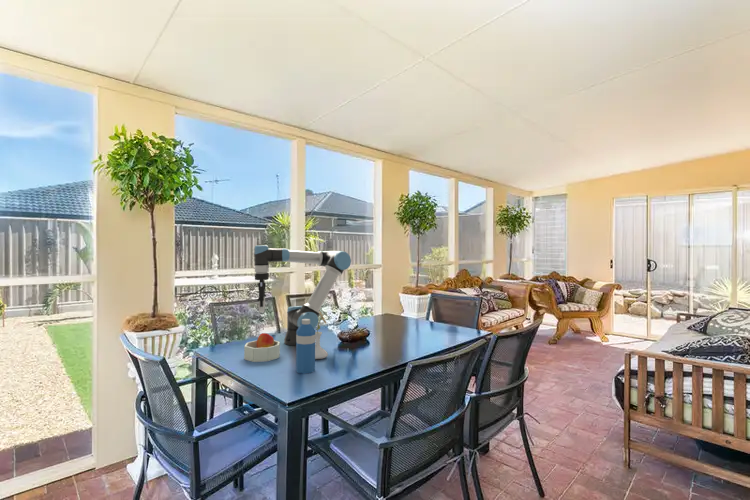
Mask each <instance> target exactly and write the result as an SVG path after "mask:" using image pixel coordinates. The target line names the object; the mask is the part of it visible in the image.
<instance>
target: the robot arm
mask: <svg viewBox="0 0 750 500" xmlns="http://www.w3.org/2000/svg"><path fill="white" fill-rule="evenodd" d="M274 262H277V263H278V262H280V263H281V262H285V263H298V264H309V265H310V264H311V265H317V266H319V267H320V266H321V267H325V271H324V272H323V274H322V276H321V277H320V280H319V281H318V283H317V284H316V287H315V288H314V290H313V292H312V293H311V296H310V297H309V298H308V300H307V302H306V303H303V304H302V305H292V306H289V307H287V312H286V314H287V315H286V316H287V317H286V319H287V320H286V321H287V322H286V323H287V324H286V326H287V327H286V334H285V336H284V340H283V341H284V342H283V343H284V345H287V346H296V331H297V329H298V328H299V327H300V325H301V324H302V319H310V324H311V326H312V327H313V328H314V330H316V329H317V327H318V323H319V316H320V313H319V311H320V309H321V308H322V306H323V304H324V302H325V300H326V298H327V297H328V296H329V293H330V292H331V289H332V288H333V285H334V284H335V282H336V280H337V279H338V277H339V276H342V275H343V273H344V271H346V270H348V269H349V268H350V266H351V264H352V260H351V256H350V253H348V252H347V251H343V250H324V251H323V250H319V251H317V252H315V251H307V250H306V251H304V250H294V249H288V248H283V247H282V248H272V247H269V246H268V245H267V244H266V245H255V246H254V266H253V269H254V280H255V281H259V282H258V283H257V286H258V287H257V289H258V299H257V301H258V313H260V314H261V313H263V314H264V313H265V309H266V297H267V295H266V284H267V283H266V282H265V281H267V280H269V278H270V277H269V276H270V275H269V271H270V268H269V267H270V266H269V263H274Z"/></svg>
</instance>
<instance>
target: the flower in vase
mask: <svg viewBox="0 0 750 500" xmlns="http://www.w3.org/2000/svg"><path fill="white" fill-rule="evenodd" d="M319 313H320V315H319V316H320V319H319V320H318V325H317V327H316V328H315V360H322V359H325V358H327V357H328V355H329V354H328V352H327V351H326V350H325V348H323V347H321V341H320V340H321V336H322V334H323V332H322V331H319V330H320V329H321V326H320V325H319V324H320V322H321V320H322V321H323V322H324V324H325V325H326V324H327V320H326V318H325V317H324V316H323V313H322V311H320V310H319Z"/></svg>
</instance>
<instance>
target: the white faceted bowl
mask: <svg viewBox="0 0 750 500" xmlns="http://www.w3.org/2000/svg"><path fill="white" fill-rule="evenodd" d="M280 348H281V343H280V341H278V340H275V339H274V346H271V347H268V348H257V339H256V340H252V341H248V342H246V343H245V345H244V348H243V349H244V350H243V351H244V353H243V356H244V357H243V359H244V360H245V361H249V362H253V363H259V362H262V363H263V362H269V361H273V360H276V359H279V358H280V356H281V353H280V351H281V349H280Z"/></svg>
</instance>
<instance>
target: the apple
mask: <svg viewBox="0 0 750 500" xmlns="http://www.w3.org/2000/svg"><path fill="white" fill-rule="evenodd" d="M256 340H257V348H268V347H271V346H274V340H275V339H274V336H272V335H270V334H268V333H266V332H262V333H261V334H260V335H258V337H257V339H256Z"/></svg>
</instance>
